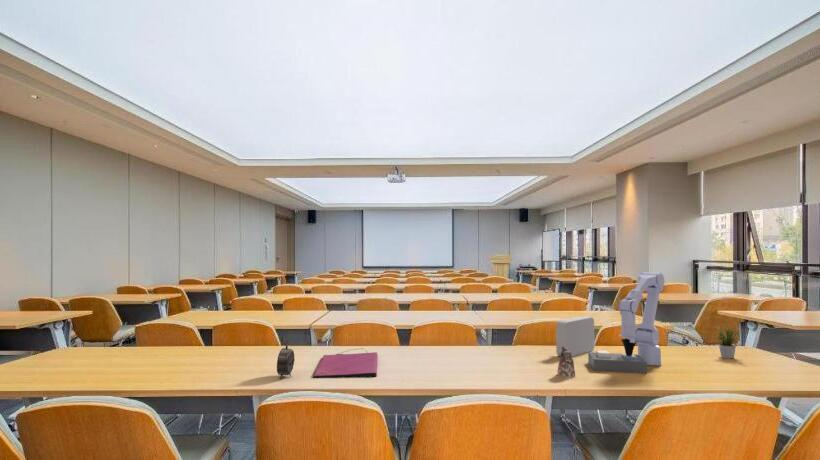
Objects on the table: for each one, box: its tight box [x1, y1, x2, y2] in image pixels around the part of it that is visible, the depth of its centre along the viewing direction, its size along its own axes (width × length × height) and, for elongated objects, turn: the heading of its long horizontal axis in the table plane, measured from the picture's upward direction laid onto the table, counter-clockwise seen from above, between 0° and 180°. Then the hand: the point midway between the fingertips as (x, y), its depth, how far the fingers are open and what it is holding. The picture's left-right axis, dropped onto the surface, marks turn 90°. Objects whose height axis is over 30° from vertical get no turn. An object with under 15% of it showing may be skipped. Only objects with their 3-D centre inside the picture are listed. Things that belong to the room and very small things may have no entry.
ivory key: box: [596, 350, 610, 358], centre depth 205 cm, size 5×5×4 cm
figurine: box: [557, 347, 576, 379], centre depth 192 cm, size 7×7×12 cm
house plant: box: [713, 325, 742, 359], centre depth 224 cm, size 14×14×16 cm
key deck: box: [587, 351, 648, 375], centre depth 204 cm, size 22×14×5 cm, turn 77°
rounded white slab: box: [555, 316, 596, 358], centre depth 234 cm, size 29×8×18 cm, turn 129°
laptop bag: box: [312, 348, 379, 379], centre depth 208 cm, size 40×4×27 cm
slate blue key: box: [621, 353, 636, 359], centre depth 203 cm, size 5×5×4 cm
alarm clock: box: [276, 338, 295, 381], centre depth 189 cm, size 11×5×16 cm, turn 178°
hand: (628, 355), depth 203 cm, fingers closed, pressing on slate blue key
